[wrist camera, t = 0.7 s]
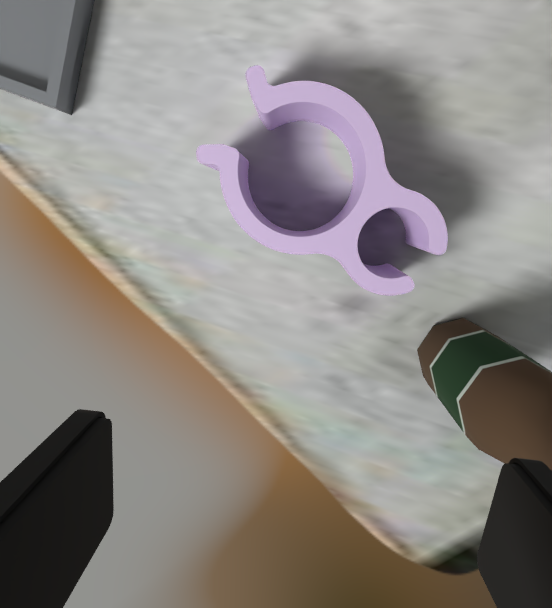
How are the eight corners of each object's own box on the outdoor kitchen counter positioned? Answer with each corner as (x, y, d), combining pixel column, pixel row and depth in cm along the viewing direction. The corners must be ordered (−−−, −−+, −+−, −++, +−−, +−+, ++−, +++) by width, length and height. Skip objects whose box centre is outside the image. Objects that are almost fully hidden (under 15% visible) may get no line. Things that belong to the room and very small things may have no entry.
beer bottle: (483, 391, 41) (735, 644, 17) (408, 383, 41) (557, 621, 17) (501, 319, 39) (813, 495, 15) (422, 311, 39) (611, 472, 16)
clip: (449, 205, 36) (484, 205, 30) (363, 309, 39) (377, 330, 32) (276, 64, 34) (271, 31, 27) (197, 185, 37) (176, 181, 30)
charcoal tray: (-39, -86, 32) (-66, -110, 30) (100, -33, 33) (85, -52, 30) (-57, 68, 35) (-83, 58, 33) (71, 114, 36) (55, 108, 33)
